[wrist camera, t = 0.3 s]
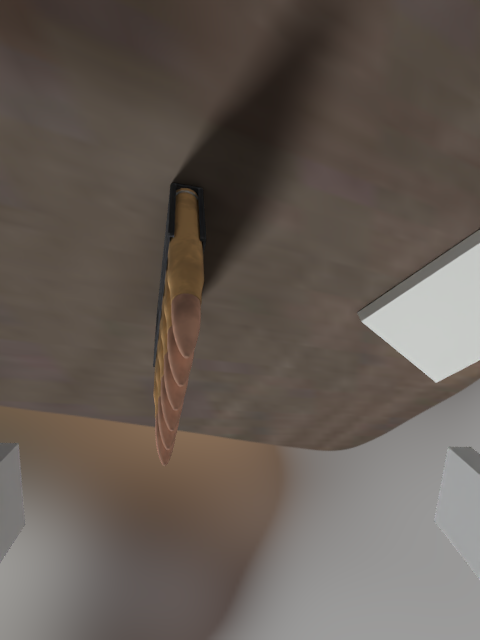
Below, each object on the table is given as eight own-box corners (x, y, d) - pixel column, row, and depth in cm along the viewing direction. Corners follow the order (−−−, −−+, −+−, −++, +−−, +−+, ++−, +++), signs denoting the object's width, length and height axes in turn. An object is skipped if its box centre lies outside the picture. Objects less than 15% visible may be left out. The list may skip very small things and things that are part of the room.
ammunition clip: (170, 181, 21) (162, 338, 13) (203, 186, 21) (216, 341, 13) (156, 316, 28) (145, 473, 20) (181, 318, 29) (180, 473, 20)
